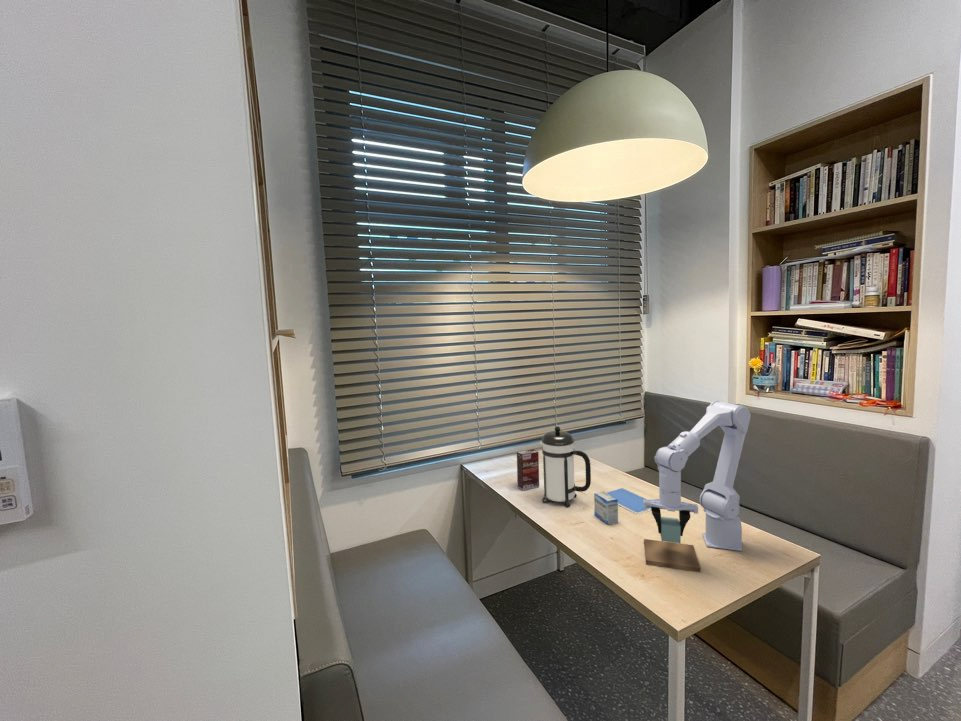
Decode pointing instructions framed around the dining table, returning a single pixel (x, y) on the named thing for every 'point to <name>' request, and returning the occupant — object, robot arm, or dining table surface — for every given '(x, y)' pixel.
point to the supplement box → (528, 469)
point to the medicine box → (606, 507)
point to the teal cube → (670, 530)
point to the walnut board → (671, 555)
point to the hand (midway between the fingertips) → (670, 533)
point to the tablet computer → (629, 500)
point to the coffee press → (561, 467)
